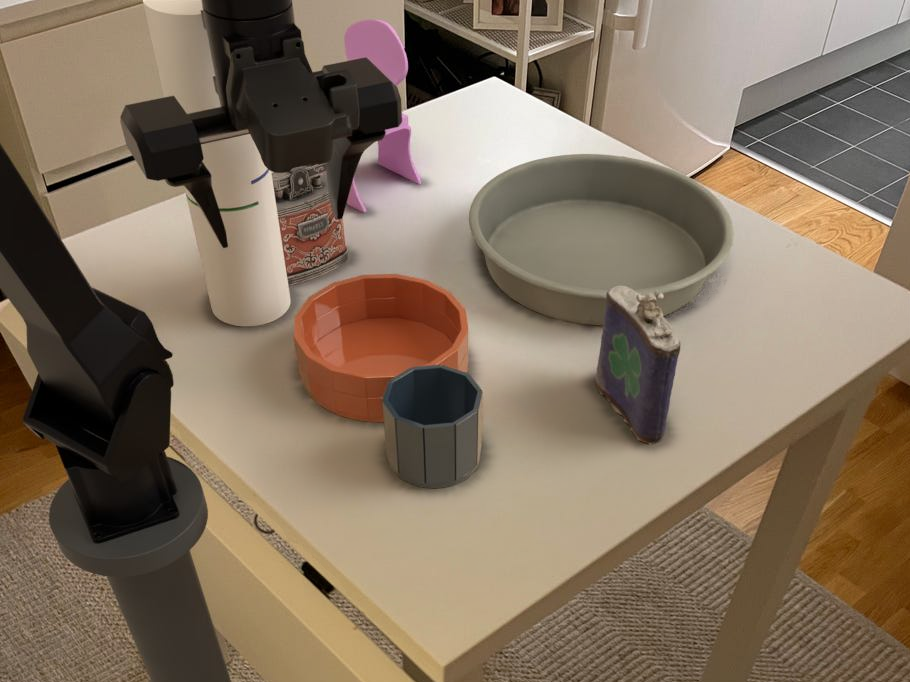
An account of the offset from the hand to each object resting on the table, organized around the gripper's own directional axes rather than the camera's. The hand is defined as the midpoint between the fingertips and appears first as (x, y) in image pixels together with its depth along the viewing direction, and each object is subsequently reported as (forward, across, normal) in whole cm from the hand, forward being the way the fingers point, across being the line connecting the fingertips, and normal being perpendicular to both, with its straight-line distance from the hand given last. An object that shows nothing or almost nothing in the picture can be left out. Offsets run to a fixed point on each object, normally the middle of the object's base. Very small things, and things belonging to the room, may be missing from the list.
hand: (281, 231), depth 76 cm
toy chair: (+12, +17, +24) cm, 32 cm away
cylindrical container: (+12, -1, +10) cm, 16 cm away
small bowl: (+12, +5, -16) cm, 21 cm away
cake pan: (+12, +31, +2) cm, 33 cm away
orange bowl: (+12, +6, -4) cm, 14 cm away
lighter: (+12, +6, +13) cm, 19 cm away
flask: (+12, +22, -18) cm, 31 cm away
